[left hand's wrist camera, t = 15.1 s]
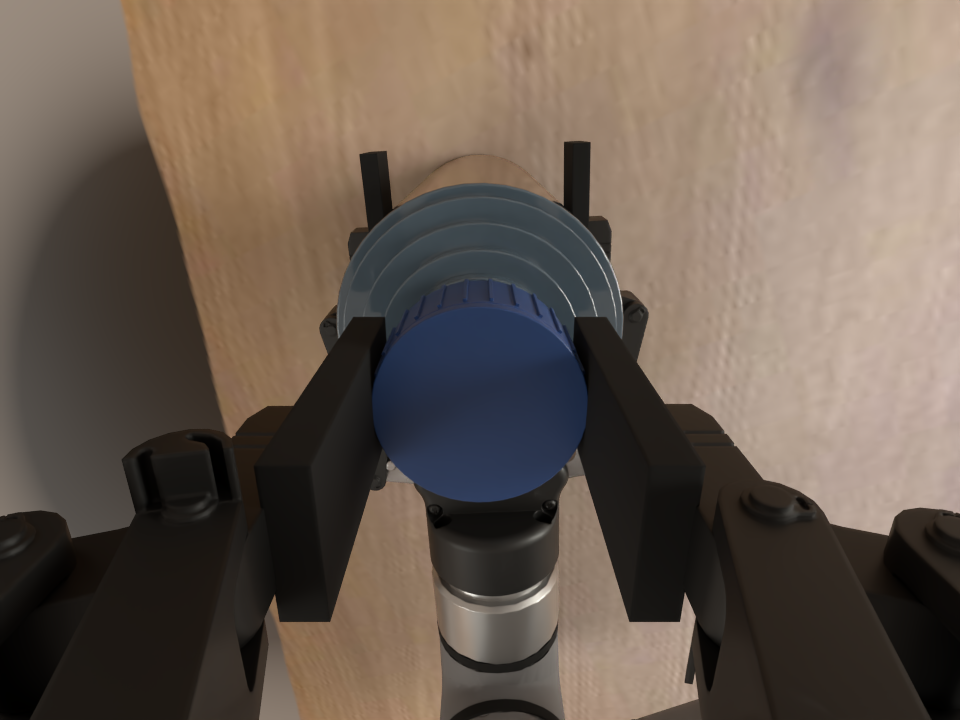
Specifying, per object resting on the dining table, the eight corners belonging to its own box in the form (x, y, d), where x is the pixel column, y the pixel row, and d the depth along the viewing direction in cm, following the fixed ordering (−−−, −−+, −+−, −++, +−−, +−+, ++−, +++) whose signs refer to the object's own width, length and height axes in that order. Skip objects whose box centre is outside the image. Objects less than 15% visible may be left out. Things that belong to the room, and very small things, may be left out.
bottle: (383, 187, 32) (211, 294, 12) (524, 130, 31) (613, 135, 10) (440, 320, 35) (383, 596, 14) (571, 272, 34) (713, 497, 13)
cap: (351, 317, 14) (329, 351, 12) (540, 246, 13) (551, 269, 11) (428, 475, 15) (420, 529, 13) (599, 419, 15) (618, 467, 13)
